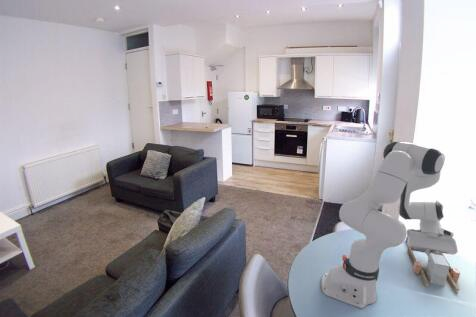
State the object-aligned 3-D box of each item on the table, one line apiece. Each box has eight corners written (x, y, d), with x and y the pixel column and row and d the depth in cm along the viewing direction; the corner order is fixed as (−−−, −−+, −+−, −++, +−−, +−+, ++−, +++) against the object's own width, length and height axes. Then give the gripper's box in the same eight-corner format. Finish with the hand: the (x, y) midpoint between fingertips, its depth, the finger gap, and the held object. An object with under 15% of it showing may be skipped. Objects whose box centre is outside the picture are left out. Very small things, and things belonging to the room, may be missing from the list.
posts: (414, 273, 129) (416, 264, 128) (412, 269, 132) (414, 260, 130) (457, 282, 124) (460, 273, 122) (454, 278, 127) (457, 268, 125)
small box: (444, 286, 121) (450, 266, 118) (429, 283, 123) (434, 263, 120) (438, 274, 129) (443, 255, 126) (424, 271, 130) (429, 252, 127)
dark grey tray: (409, 250, 146) (410, 245, 146) (405, 240, 155) (406, 236, 154) (436, 254, 143) (437, 249, 142) (430, 245, 151) (431, 240, 150)
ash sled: (425, 286, 121) (429, 269, 118) (416, 266, 134) (420, 250, 131) (457, 293, 118) (463, 275, 115) (445, 271, 130) (450, 255, 128)
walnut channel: (414, 268, 133) (415, 262, 132) (407, 251, 146) (408, 246, 145) (450, 275, 128) (452, 270, 127) (440, 257, 141) (441, 252, 140)
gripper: (408, 226, 138) (409, 254, 132) (457, 233, 132) (460, 263, 126) (404, 229, 143) (405, 256, 137) (451, 236, 137) (454, 265, 131)
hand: (432, 260), depth 131 cm, fingers closed, pressing on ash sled
